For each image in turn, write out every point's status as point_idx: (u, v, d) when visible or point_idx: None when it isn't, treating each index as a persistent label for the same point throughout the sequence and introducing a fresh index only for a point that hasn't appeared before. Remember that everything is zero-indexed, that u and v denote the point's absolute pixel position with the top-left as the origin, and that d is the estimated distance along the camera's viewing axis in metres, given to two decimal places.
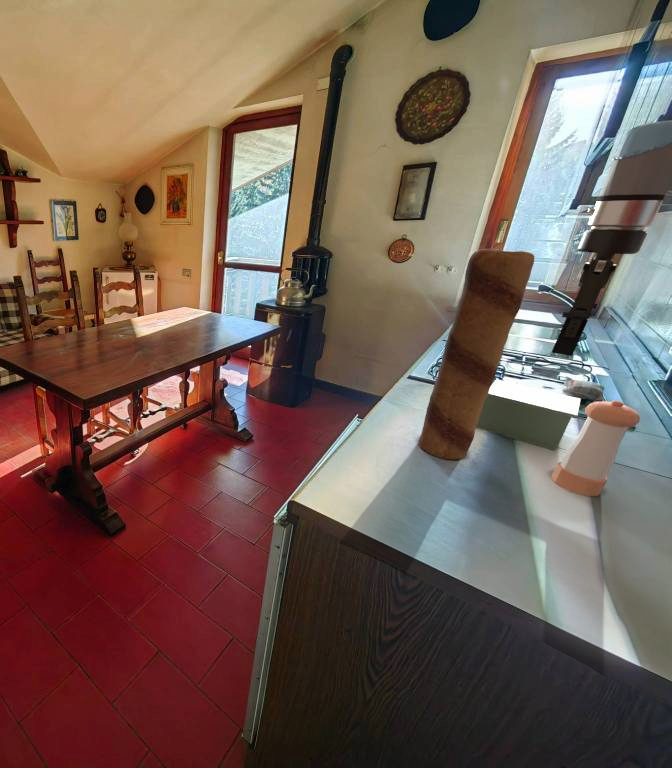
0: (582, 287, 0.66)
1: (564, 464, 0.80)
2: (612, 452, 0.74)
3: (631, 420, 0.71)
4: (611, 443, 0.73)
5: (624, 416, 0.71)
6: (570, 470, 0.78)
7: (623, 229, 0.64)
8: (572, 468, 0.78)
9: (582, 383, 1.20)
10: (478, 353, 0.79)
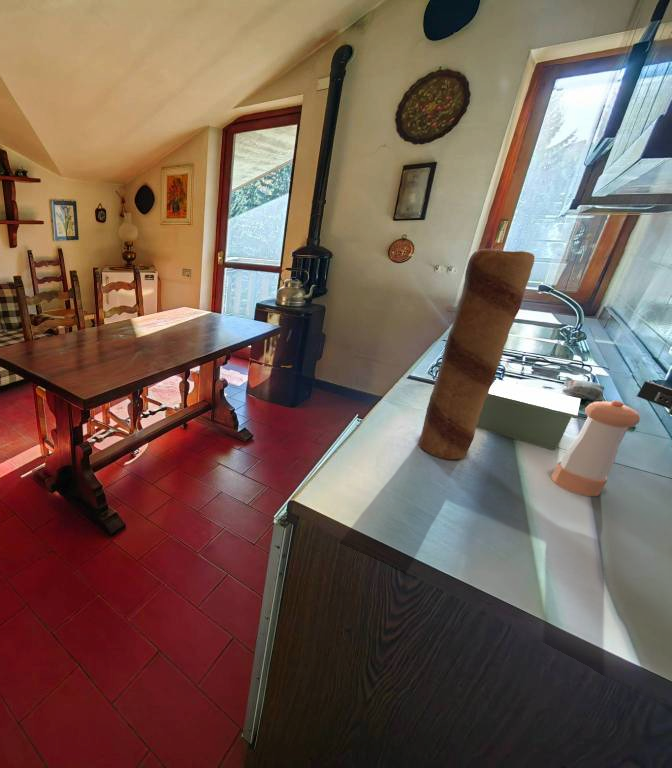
0: None
1: (564, 464, 0.80)
2: (612, 452, 0.74)
3: (631, 420, 0.71)
4: (611, 443, 0.73)
5: (624, 416, 0.71)
6: (570, 470, 0.78)
7: None
8: (572, 468, 0.78)
9: (582, 383, 1.20)
10: (478, 353, 0.79)
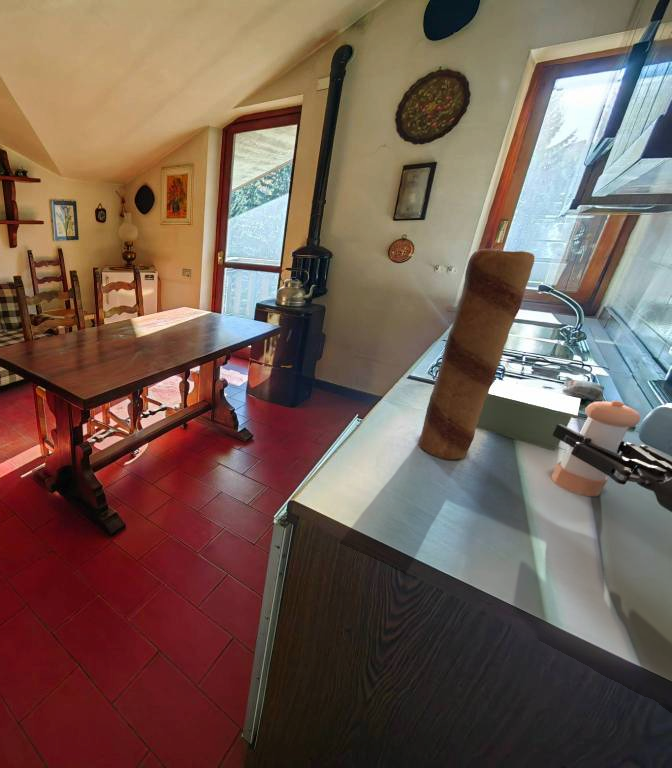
0: None
1: (564, 464, 0.80)
2: None
3: (631, 420, 0.71)
4: (611, 443, 0.73)
5: (624, 416, 0.71)
6: (570, 470, 0.78)
7: None
8: (572, 468, 0.78)
9: (582, 383, 1.20)
10: (478, 353, 0.79)
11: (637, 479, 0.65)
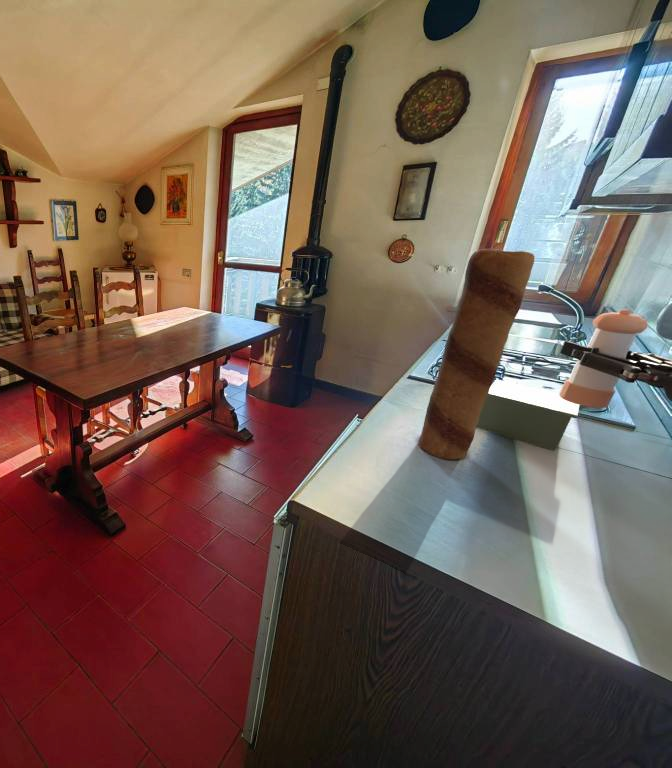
0: None
1: (572, 379, 0.81)
2: None
3: (639, 325, 0.72)
4: (619, 351, 0.75)
5: (632, 321, 0.72)
6: (578, 384, 0.79)
7: None
8: (580, 381, 0.79)
9: None
10: (478, 353, 0.79)
11: (646, 376, 0.67)
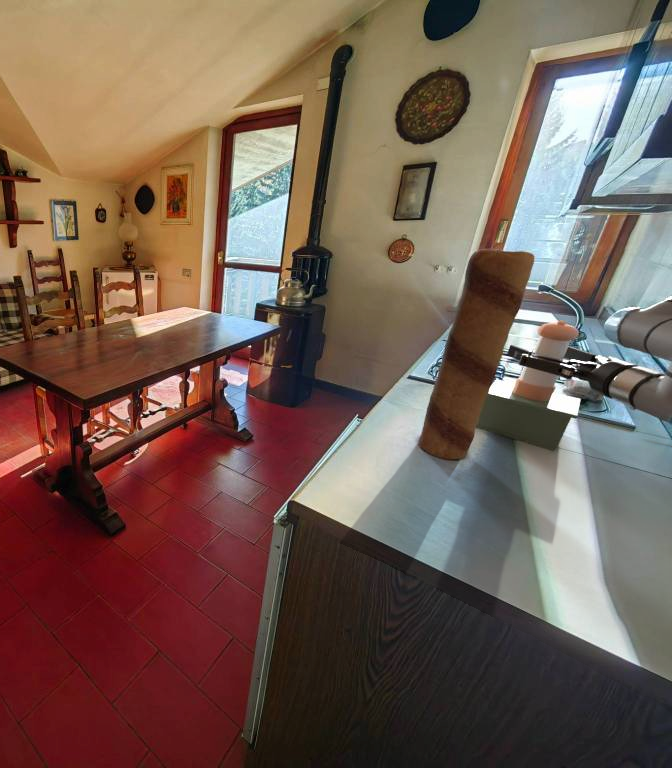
0: None
1: (521, 377, 0.98)
2: None
3: (571, 334, 0.89)
4: (556, 355, 0.92)
5: (566, 331, 0.89)
6: (526, 381, 0.96)
7: None
8: (527, 379, 0.96)
9: (582, 383, 1.20)
10: (478, 353, 0.79)
11: (579, 372, 0.82)
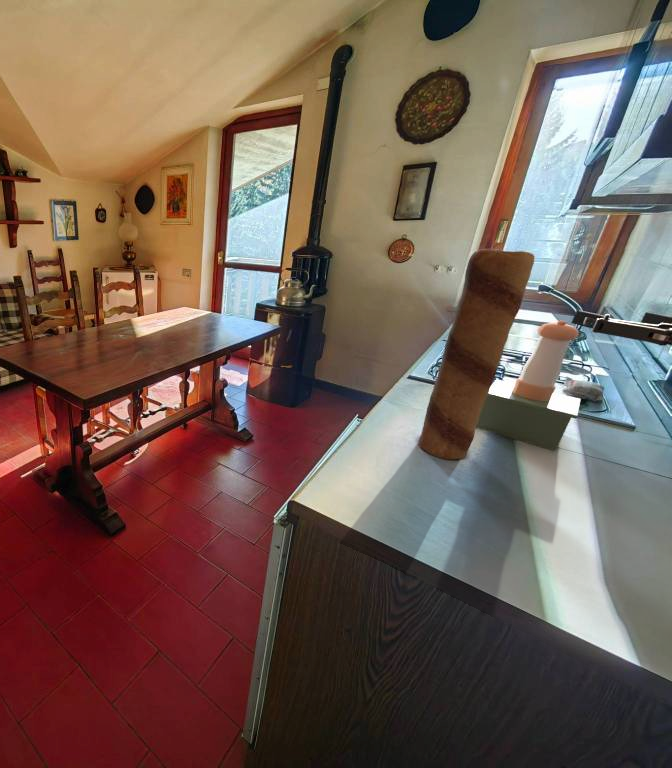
0: None
1: (522, 377, 0.98)
2: (558, 362, 0.92)
3: (571, 334, 0.89)
4: (556, 355, 0.92)
5: (566, 331, 0.89)
6: (526, 381, 0.96)
7: None
8: (527, 379, 0.96)
9: (582, 383, 1.20)
10: (478, 353, 0.79)
11: None
